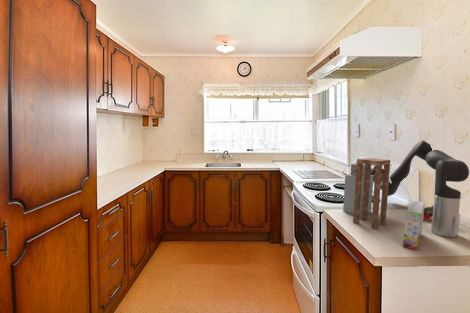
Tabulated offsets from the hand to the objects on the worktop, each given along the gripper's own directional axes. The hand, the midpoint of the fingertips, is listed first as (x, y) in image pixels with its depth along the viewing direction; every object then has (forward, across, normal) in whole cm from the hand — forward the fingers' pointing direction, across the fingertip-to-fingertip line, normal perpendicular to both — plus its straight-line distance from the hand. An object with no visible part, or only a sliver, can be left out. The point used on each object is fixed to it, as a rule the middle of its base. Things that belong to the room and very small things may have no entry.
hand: (367, 165), depth 157 cm
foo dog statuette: (-20, +29, +18) cm, 40 cm away
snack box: (+11, +34, +36) cm, 51 cm away
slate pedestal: (-6, 0, +26) cm, 27 cm away
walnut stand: (+6, +14, +33) cm, 36 cm away
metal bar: (0, 0, +5) cm, 5 cm away
